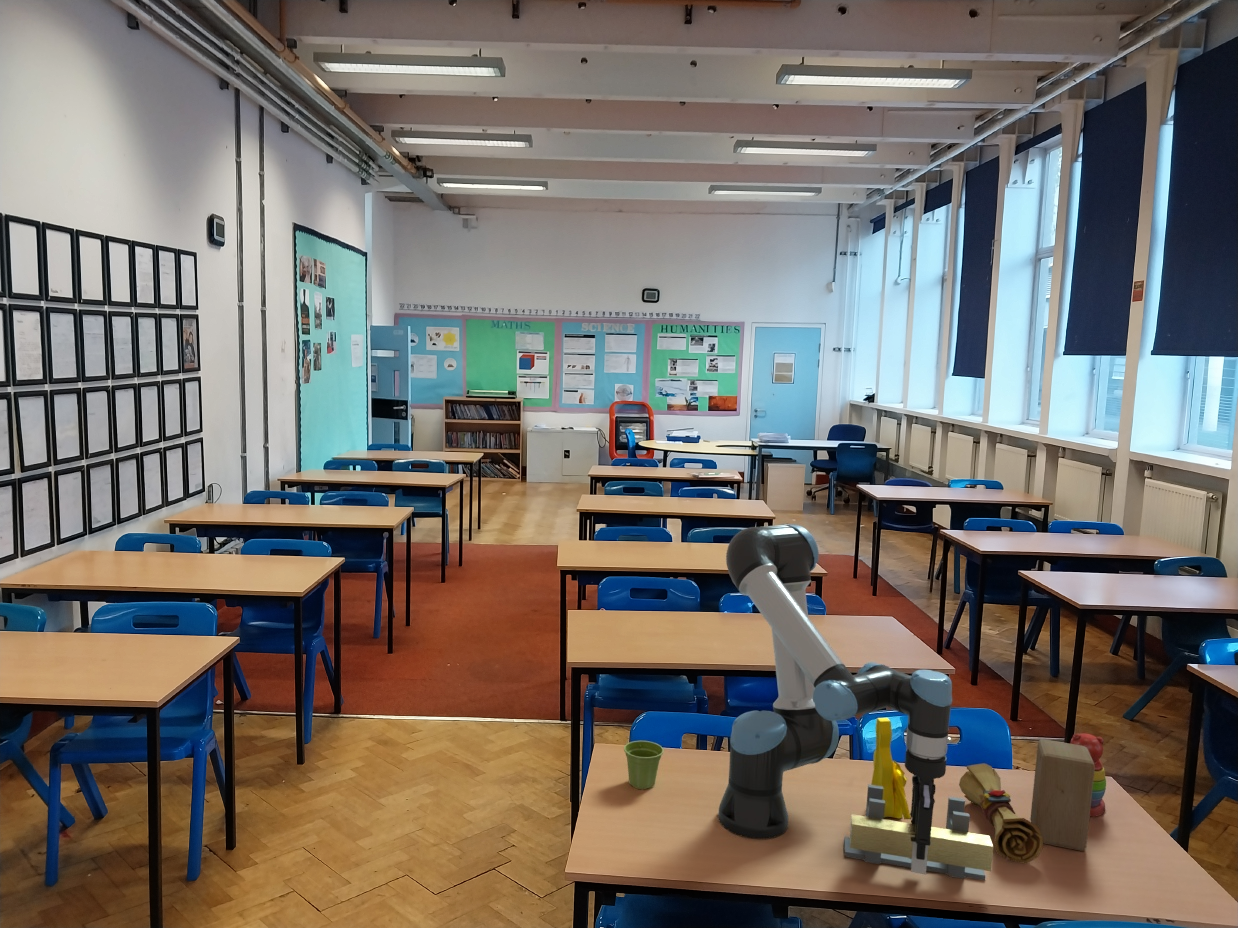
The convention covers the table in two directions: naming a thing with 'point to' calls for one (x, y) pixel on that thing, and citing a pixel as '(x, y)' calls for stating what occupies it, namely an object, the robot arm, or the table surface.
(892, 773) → the figure statuette
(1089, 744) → the stacking bear
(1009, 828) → the scroll
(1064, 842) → the wooden block
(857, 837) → the rail
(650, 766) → the plant pot
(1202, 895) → the table surface
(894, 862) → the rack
